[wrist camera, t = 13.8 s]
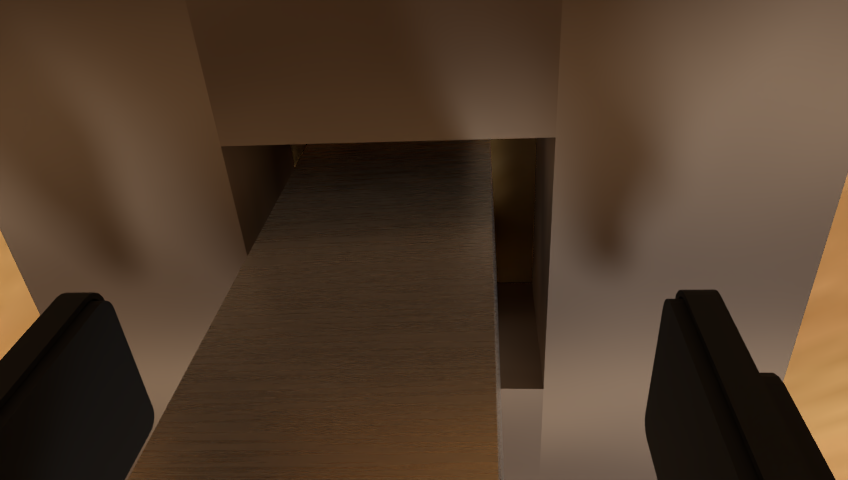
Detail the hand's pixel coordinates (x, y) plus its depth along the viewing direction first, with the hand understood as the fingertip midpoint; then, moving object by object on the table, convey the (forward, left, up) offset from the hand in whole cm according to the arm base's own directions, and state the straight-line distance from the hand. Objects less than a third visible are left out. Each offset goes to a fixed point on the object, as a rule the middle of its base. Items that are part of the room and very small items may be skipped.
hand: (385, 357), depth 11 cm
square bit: (0, 0, -6) cm, 6 cm away
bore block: (0, 0, -6) cm, 6 cm away
